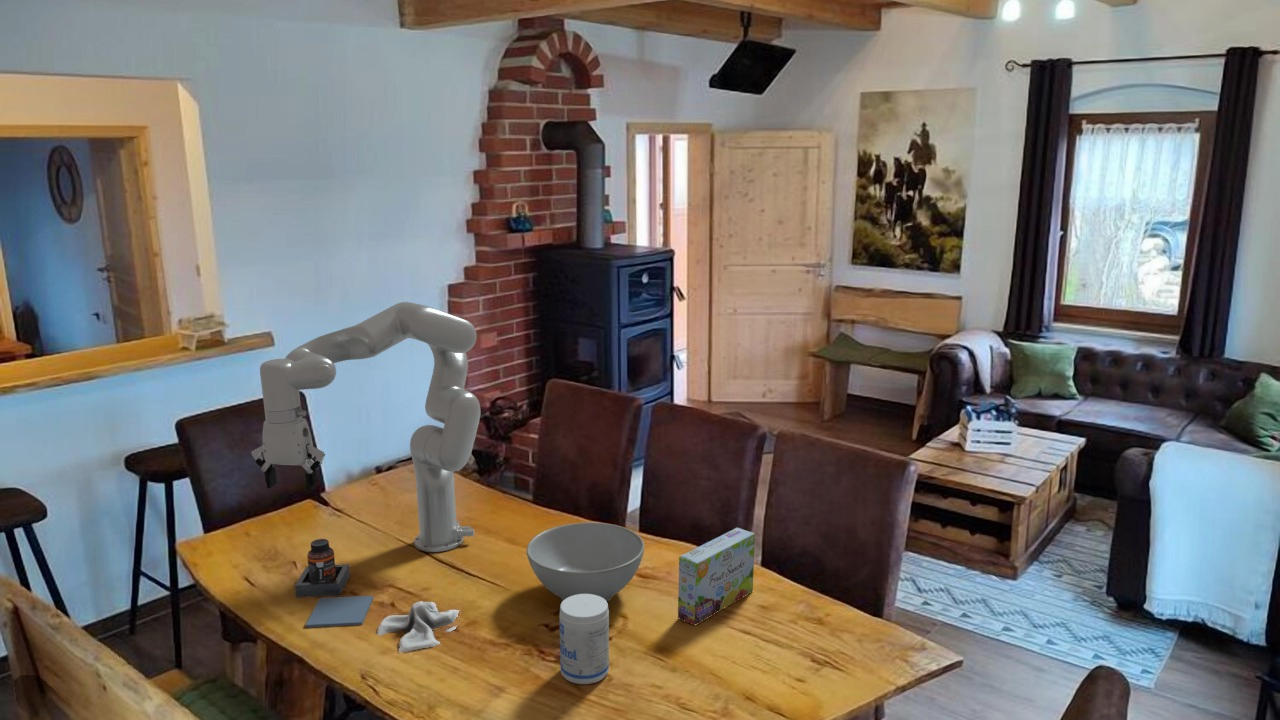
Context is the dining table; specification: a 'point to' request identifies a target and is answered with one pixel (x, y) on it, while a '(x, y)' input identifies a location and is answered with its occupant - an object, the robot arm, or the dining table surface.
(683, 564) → the snack box
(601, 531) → the decorative bowl
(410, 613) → the cloth
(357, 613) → the board
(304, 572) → the collar
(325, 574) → the supplement bottle
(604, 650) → the supplement tub
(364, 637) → the dining table surface
